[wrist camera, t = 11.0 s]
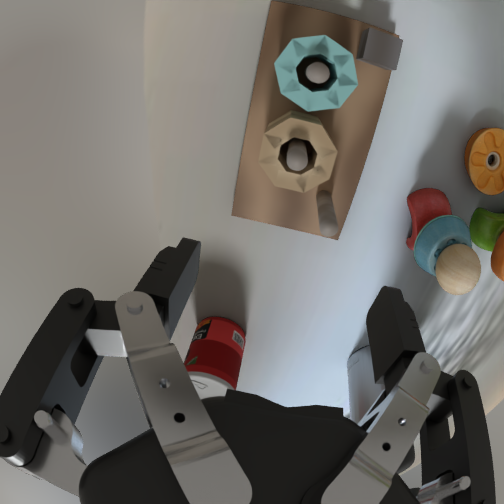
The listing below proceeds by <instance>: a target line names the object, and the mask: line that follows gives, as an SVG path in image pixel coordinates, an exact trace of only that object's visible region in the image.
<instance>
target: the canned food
mask: <svg viewBox="0 0 504 504" xmlns="http://www.w3.org/2000/svg"><path fill="white" fill-rule="evenodd" d="M244 346H245V334H244V332H243V330H242V328H241V327H240V326H239V325H238V324H236V323H235V322H233V321H231V320H229V319H226V318H221V317H209V318H206V319H204V320H202V321H201V322H200V323H199V324H198V326H197V328H196V331H195V333H194V336H193V339H192V342H191V344H190V347H189V350H188V353H187V355H186V358H185V361H184V365H185V368H186V370H187V372H188V374H189V376H190V378H191V381H192V383H193V385H194V387H195V389H196V391H197V393H198V395H199V397H200V399H203V398H208V397H214V396H225V394H226V391H227V389H232V390H236V387H237V382H238V377H239V372H240V367H241V362H242V357H243V352H244Z"/></svg>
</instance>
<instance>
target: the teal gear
mask: <svg viewBox="0 0 504 504" xmlns="http://www.w3.org/2000/svg"><path fill="white" fill-rule="evenodd" d="M314 57H317V58H319V59H320V60H322V61H323V62H324V63H326V64H327V65H328V67H329V72H330V77H331V78H330V79H329V80H328V82H327V83H326V84H325V85H324V87H323V88H314V89H309V88H307V87H306V86H304V85H303V84H301V83H300V82H298V77H297V72H296V68H297V66H298V65H299V64H300V62H301V61H302V60H303V59H306V58H314ZM274 65H275V70H276V74H277V78H278V83H279V88H280V92H281V94H282V95H284V96H286V97H287V98H289V99H290V100H292V101H293V102H295V103H296V104H297V105H299V106H300V107H302V108H303V109H305V110H306V111H308V112H309V111H317V110H326V109H335V108H340V107H341V106H342V104H343V103H344V102H345V101H346V99H347V98H348V97H349V96H350V94H351V93H352V92H353V91H354V89H355V88H356V87H357V86H358V81H357V75H356V69H355V64H354V59H353V54H352V53H350V52H349V51H347V50H346V49H345V48H343V47H342V46H341V45H339V44H338V43H336V42H335V41H333V40H332V39H331V38H329V37H328V36H326V35H320V36H311V37H302V38H295V39H292V40H291V41H290V43H289V44H288V45H287V47H286V48H285V49H284V51H283V52H282V53H281V55H280V56H279V57H278V59H277V60H276V61H275V63H274Z"/></svg>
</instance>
